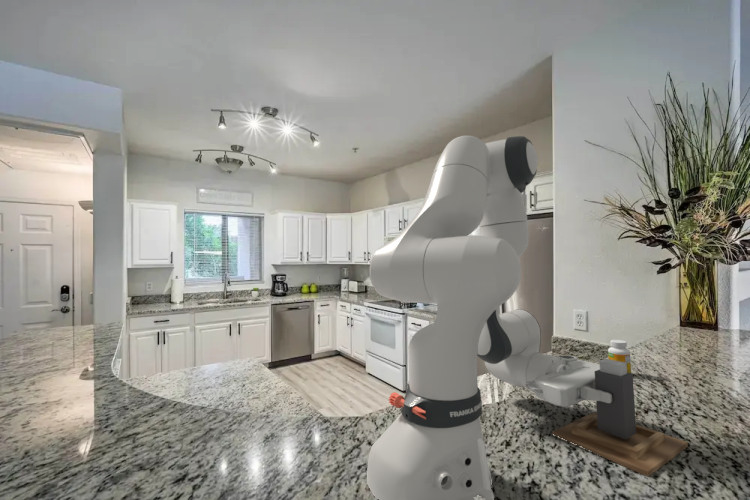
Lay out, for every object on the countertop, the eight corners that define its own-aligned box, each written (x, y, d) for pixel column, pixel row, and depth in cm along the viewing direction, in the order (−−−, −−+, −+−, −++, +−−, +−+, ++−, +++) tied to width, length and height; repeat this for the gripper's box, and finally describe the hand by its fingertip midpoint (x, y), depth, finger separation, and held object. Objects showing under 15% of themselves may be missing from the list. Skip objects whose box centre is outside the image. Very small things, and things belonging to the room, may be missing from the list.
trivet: (648, 476, 55) (647, 463, 55) (552, 435, 69) (551, 425, 69) (687, 446, 64) (687, 435, 64) (595, 415, 77) (594, 406, 77)
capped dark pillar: (625, 439, 63) (621, 366, 64) (597, 429, 68) (594, 360, 68) (636, 433, 66) (632, 362, 66) (608, 423, 70) (604, 357, 70)
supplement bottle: (605, 373, 105) (603, 340, 105) (616, 370, 107) (614, 338, 108) (624, 378, 100) (622, 344, 100) (635, 375, 102) (633, 341, 103)
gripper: (519, 370, 73) (589, 389, 61) (574, 354, 83) (643, 368, 71) (521, 401, 72) (591, 426, 60) (576, 381, 83) (644, 399, 71)
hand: (619, 394), depth 66 cm, fingers closed on capped dark pillar, 4 cm apart
